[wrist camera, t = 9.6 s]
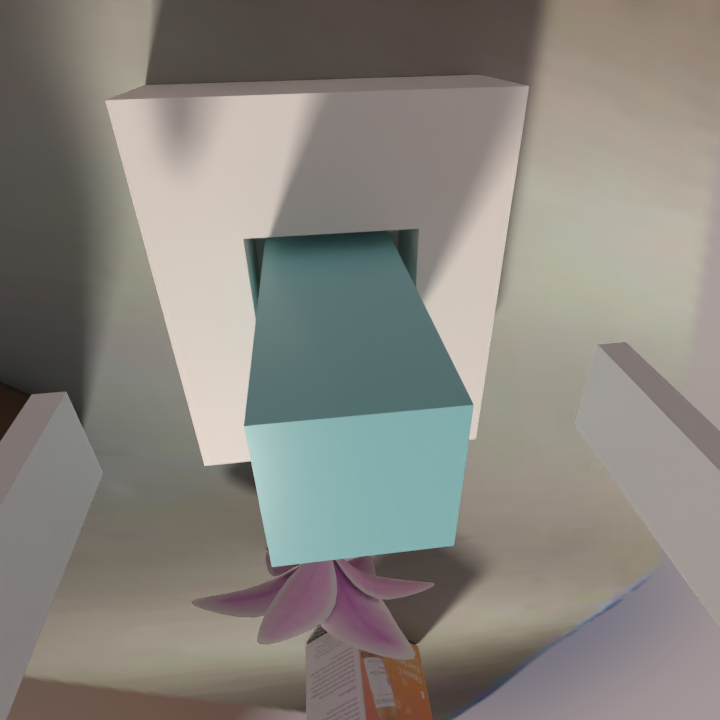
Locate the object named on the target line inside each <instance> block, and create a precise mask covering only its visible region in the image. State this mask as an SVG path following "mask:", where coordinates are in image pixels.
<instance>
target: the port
mask: <svg viewBox="0 0 720 720" xmlns="http://www.w3.org/2000/svg"><path fill="white" fill-rule="evenodd" d="M528 91H529V86H527V85H523V84H519V83H514V82H510V81H506V80H501V79H497V78H493V77H488V76H484V75H453V76H421V77H388V78H356V79H324V80H292V81H259V82H227V83H195V84H162V85H144V86H141V87H138V88H136V89H133V90H131V91H128V92H125V93H123V94H120V95H117V96H115V97H112V98H110V99H107V100H105V101H106V105H107V108H108V112H109V116H110V120H111V123H112V127H113V131H114V134H115V138H116V142H117V145H118V149H119V153H120V156H121V160H122V164H123V167H124V171H125V175H126V178H127V182H128V186H129V189H130V193H131V197H132V200H133V204H134V208H135V211H136V215H137V219H138V223H139V226H140V230H141V234H142V237H143V241H144V245H145V248H146V252H147V256H148V259H149V263H150V267H151V270H152V274H153V278H154V281H155V285H156V289H157V292H158V296H159V300H160V303H161V307H162V311H163V314H164V318H165V322H166V326H167V329H168V333H169V337H170V340H171V344H172V348H173V351H174V355H175V359H176V362H177V366H178V370H179V373H180V377H181V381H182V384H183V388H184V392H185V395H186V399H187V403H188V406H189V410H190V414H191V417H192V421H193V425H194V429H195V432H196V436H197V440H198V443H199V447H200V451H201V454H202V458H203V462H204V465H205V466H208V465H218V464H228V463H238V462H249V461H251V459H250V454H249V449H248V444H247V439H246V434H245V429H244V421H245V412H246V403H247V395H248V386H249V377H250V368H251V359H252V350H253V341H254V333H255V324H256V315H257V306H258V297H259V288H260V279H261V270H262V262H263V253H264V244H265V238H268V237H285V236H302V235H319V234H336V233H353V232H370V231H387V230H388V232H389V234H390V236H391V238H392V241H393V243H394V245H395V247H396V249H397V251H398V253H399V255H400V257H401V259H402V261H403V263H404V265H405V267H406V269H407V271H408V273H409V275H410V277H411V279H412V281H413V283H414V285H415V287H416V289H417V291H418V293H419V295H420V297H421V299H422V301H423V303H424V305H425V307H426V309H427V311H428V313H429V315H430V317H431V319H432V321H433V323H434V325H435V327H436V329H437V331H438V334H439V336H440V338H441V340H442V342H443V344H444V346H445V348H446V350H447V352H448V354H449V356H450V358H451V360H452V362H453V364H454V366H455V368H456V370H457V372H458V374H459V376H460V378H461V380H462V382H463V384H464V386H465V388H466V390H467V392H468V394H469V396H470V398H471V400H472V402H473V404H474V407H473V414H472V421H471V428H470V435H469V440H472V439H476V435H477V428H478V421H479V415H480V408H481V402H482V395H483V388H484V382H485V375H486V368H487V362H488V355H489V349H490V342H491V335H492V329H493V322H494V316H495V309H496V302H497V296H498V289H499V283H500V276H501V269H502V263H503V256H504V250H505V243H506V236H507V230H508V223H509V217H510V210H511V203H512V197H513V190H514V184H515V177H516V170H517V164H518V157H519V151H520V144H521V137H522V131H523V124H524V118H525V111H526V104H527V98H528Z"/></svg>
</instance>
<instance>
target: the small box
mask: <svg viewBox="0 0 720 720" xmlns="http://www.w3.org/2000/svg"><path fill="white" fill-rule="evenodd" d="M410 645H411V646H412V648H413V650H414V652H415V657H414V659H408V660H402V659H395V658H389V657H385V656H381V655H377V654H373V653H369V652H366V651H364V650H361V649H358V648H355V647H352V646H350V645H348V644H346V643H344V642H342V641H340V640H338V639H336V638H334V637H333V636H332V635H330V634H329V633H328V632H327V633H325V634H323V635H322V636H320V637H318V638H317V639H315V640H313V641H312V642H310V643H309V644H307V645H306V705H307V720H433V719H432V714H431V709H430V704H429V698H428V693H427V688H426V683H425V678H424V673H423V668H422V663H421V658H420V653H419V648H418V646H416V645H414V644H412V643H410Z"/></svg>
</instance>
